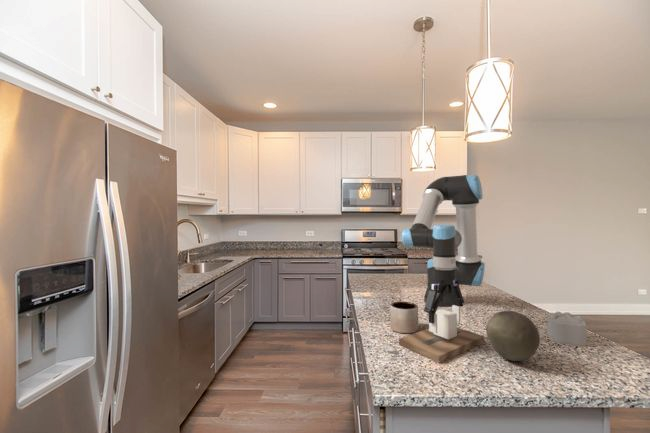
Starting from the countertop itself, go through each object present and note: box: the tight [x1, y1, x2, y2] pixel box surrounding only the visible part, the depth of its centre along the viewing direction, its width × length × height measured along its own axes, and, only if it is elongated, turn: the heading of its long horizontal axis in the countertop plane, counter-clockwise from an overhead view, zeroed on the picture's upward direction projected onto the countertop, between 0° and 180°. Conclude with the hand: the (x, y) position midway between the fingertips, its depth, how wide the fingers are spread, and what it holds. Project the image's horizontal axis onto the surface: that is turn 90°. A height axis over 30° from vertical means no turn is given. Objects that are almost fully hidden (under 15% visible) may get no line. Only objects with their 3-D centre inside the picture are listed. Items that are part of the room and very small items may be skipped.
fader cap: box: [434, 309, 458, 340], centre depth 107 cm, size 5×6×8 cm
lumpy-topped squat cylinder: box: [546, 311, 588, 347], centre depth 109 cm, size 10×13×9 cm
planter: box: [389, 301, 419, 335], centre depth 120 cm, size 11×11×10 cm
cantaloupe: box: [486, 310, 541, 362], centre depth 93 cm, size 14×14×15 cm
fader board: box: [398, 327, 485, 364], centre depth 105 cm, size 26×16×2 cm, turn 124°
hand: (445, 327), depth 107 cm, fingers open, 13 cm apart
